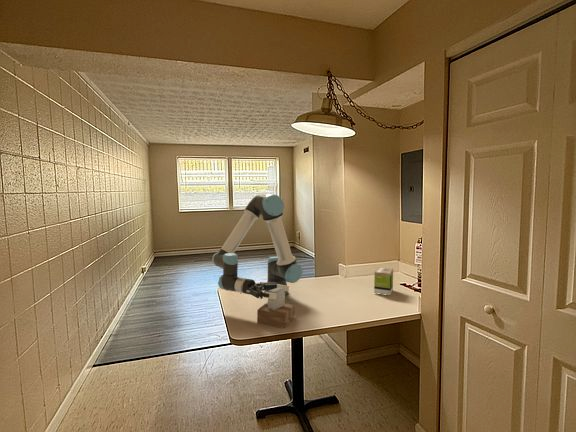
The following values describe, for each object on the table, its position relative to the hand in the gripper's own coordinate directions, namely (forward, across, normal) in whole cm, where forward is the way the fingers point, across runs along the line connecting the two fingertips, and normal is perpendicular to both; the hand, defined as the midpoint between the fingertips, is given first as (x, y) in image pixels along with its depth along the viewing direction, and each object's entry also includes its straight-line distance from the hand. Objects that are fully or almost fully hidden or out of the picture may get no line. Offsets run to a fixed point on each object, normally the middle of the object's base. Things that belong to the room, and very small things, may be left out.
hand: (282, 292), depth 151 cm
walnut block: (-3, 0, -15) cm, 15 cm away
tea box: (+36, -75, -15) cm, 85 cm away
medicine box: (-3, 0, -8) cm, 9 cm away
